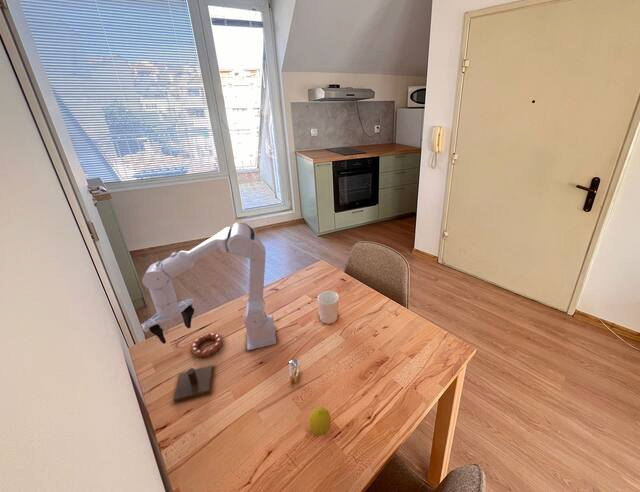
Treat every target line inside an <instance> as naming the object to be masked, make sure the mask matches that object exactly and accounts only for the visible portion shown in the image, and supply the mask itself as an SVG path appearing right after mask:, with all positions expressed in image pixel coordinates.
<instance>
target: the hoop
mask: <svg viewBox="0 0 640 492" xmlns="http://www.w3.org/2000/svg"><path fill="white" fill-rule="evenodd" d="M209 340H214V341H215V343H214V345H213V346H212V347H210V348H208V349H205V350H200V349H198V348H199V346H200V345H201V344H202V343H203V342H206V341H209ZM222 345H223V337H222V336H221V335H220V334H218V333H214V332H210V333H206V334H203V335H201V336H199V337H197V338H196V339H195V340H194V341H193V343H192V344H191V346H190V353H191V354H192V355H193V357H195V358H200V359H203V358H207V357H210V356H213V354H216V353H217V352H218V351H219V350H220V349H221V347H222Z"/></svg>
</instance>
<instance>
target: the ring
mask: <svg viewBox="0 0 640 492" xmlns="http://www.w3.org/2000/svg"><path fill="white" fill-rule="evenodd" d="M300 365H301V363H300V358H299V357H294V358H292V359H291V360H290V361H289V362H288V367H289V379H290V380H289V381H290V384H291V385H296V383H297V381H298V380H299V379H298V378H299V375H300V374H299V373H300ZM293 370H294V373H293Z"/></svg>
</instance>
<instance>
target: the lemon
mask: <svg viewBox="0 0 640 492" xmlns="http://www.w3.org/2000/svg"><path fill="white" fill-rule="evenodd" d="M308 424H309V425H308V426H309V429H310V431H311V432H312V435H313V434H314V436H317V437H322V436H324V435H326V434H327V433H328V432H329V430H330V428H331V425H332V417H331V414H330V412H329V410H328V409H327V408H325V407H322V406H320V407H316V408H315V409H313V411H312V412H311V413H310V417H309V421H308Z"/></svg>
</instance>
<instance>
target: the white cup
mask: <svg viewBox="0 0 640 492" xmlns="http://www.w3.org/2000/svg"><path fill="white" fill-rule="evenodd" d="M317 307H318V313H319V320H320V322H321V323H324V324H327V325H329V324H333V323H334V322H336V320H338V313H339V294H338V293H337V292H336V291H333V290H324V291H322V292H321V293H319V294H318V295H317Z"/></svg>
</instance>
